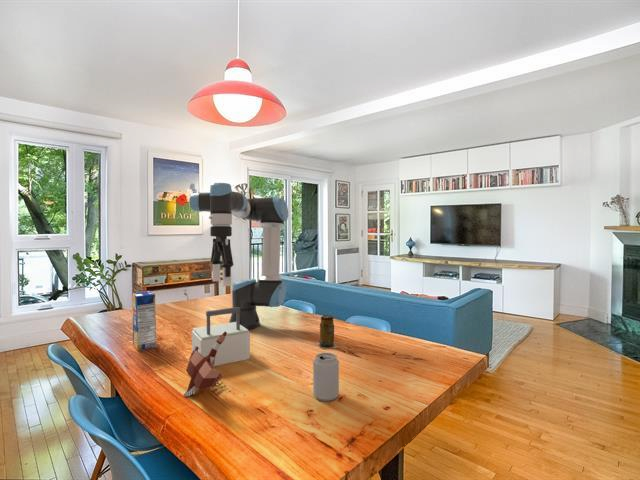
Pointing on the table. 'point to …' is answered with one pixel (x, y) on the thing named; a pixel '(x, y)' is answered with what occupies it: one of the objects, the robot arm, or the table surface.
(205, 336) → the lid flap
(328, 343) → the condiment
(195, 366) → the decorative bird
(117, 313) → the table surface
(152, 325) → the beverage box
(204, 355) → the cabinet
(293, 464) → the table surface
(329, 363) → the can
